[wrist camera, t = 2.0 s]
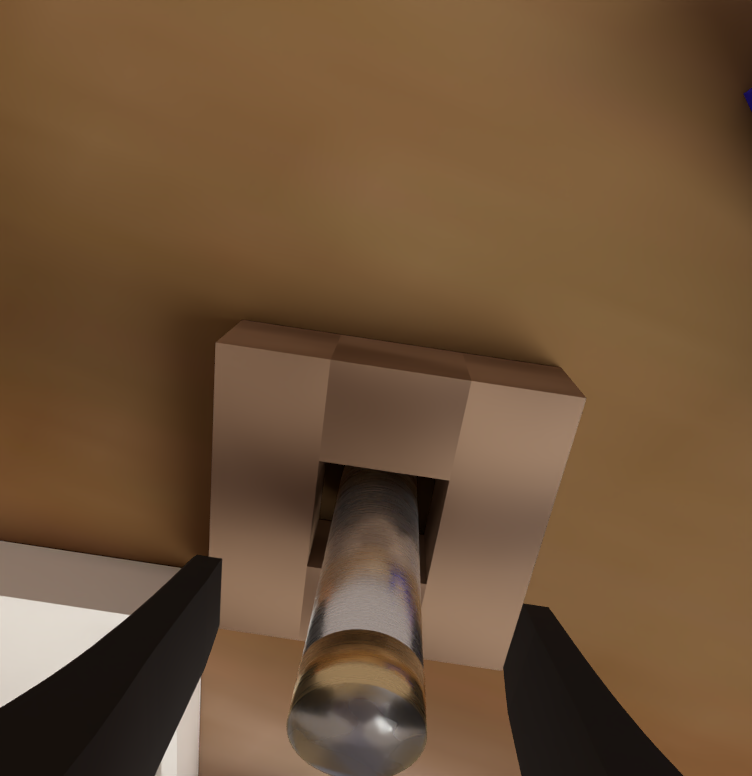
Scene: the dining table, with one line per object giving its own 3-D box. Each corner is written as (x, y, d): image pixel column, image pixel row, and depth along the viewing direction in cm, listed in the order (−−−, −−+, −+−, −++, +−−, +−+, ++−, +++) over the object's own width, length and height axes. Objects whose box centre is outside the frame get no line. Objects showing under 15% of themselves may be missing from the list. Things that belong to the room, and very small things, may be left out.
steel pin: (410, 519, 19) (414, 789, 10) (336, 508, 19) (281, 769, 10) (423, 453, 18) (438, 693, 10) (345, 441, 18) (292, 671, 10)
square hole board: (490, 614, 20) (501, 670, 18) (229, 575, 20) (206, 626, 18) (561, 368, 17) (586, 398, 14) (242, 319, 17) (215, 342, 14)
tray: (197, 805, 25) (176, 869, 23) (-95, 762, 25) (-146, 821, 23) (203, 571, 20) (177, 622, 18) (-163, 516, 20) (-237, 560, 18)
